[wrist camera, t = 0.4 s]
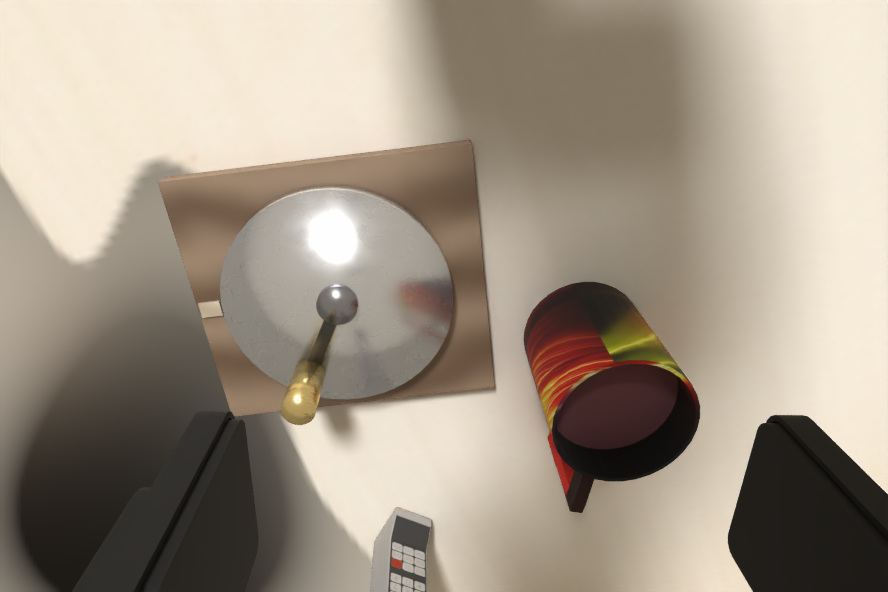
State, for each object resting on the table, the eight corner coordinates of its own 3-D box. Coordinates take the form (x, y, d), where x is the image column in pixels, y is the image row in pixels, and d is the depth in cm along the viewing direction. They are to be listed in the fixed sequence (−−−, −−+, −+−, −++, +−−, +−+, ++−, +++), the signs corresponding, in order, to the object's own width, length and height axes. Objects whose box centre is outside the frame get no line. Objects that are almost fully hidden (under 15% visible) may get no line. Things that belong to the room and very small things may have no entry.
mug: (546, 433, 54) (577, 538, 43) (511, 299, 48) (537, 381, 38) (653, 407, 53) (711, 507, 42) (630, 268, 48) (692, 342, 37)
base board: (165, 176, 43) (156, 182, 42) (470, 140, 43) (472, 144, 41) (237, 406, 52) (231, 418, 50) (492, 377, 51) (494, 388, 50)
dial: (263, 145, 41) (236, 167, 35) (489, 237, 44) (499, 272, 38) (201, 347, 47) (169, 394, 41) (402, 414, 51) (400, 467, 45)
